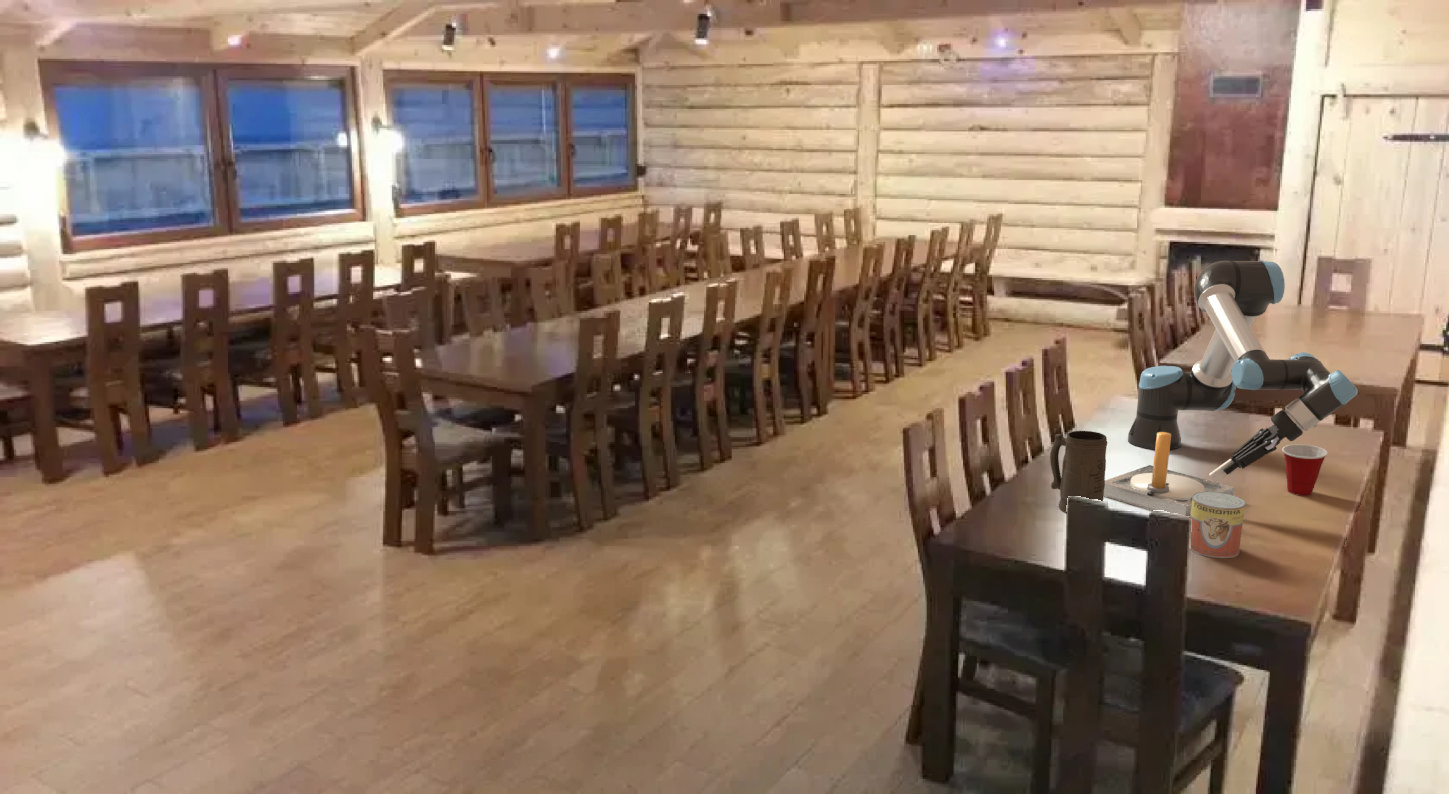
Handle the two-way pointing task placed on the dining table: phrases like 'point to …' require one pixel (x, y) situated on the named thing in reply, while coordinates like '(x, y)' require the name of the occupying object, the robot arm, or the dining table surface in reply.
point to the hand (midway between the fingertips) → (1213, 478)
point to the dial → (1165, 476)
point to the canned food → (1216, 524)
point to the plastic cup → (1302, 467)
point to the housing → (1124, 492)
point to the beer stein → (1079, 465)
